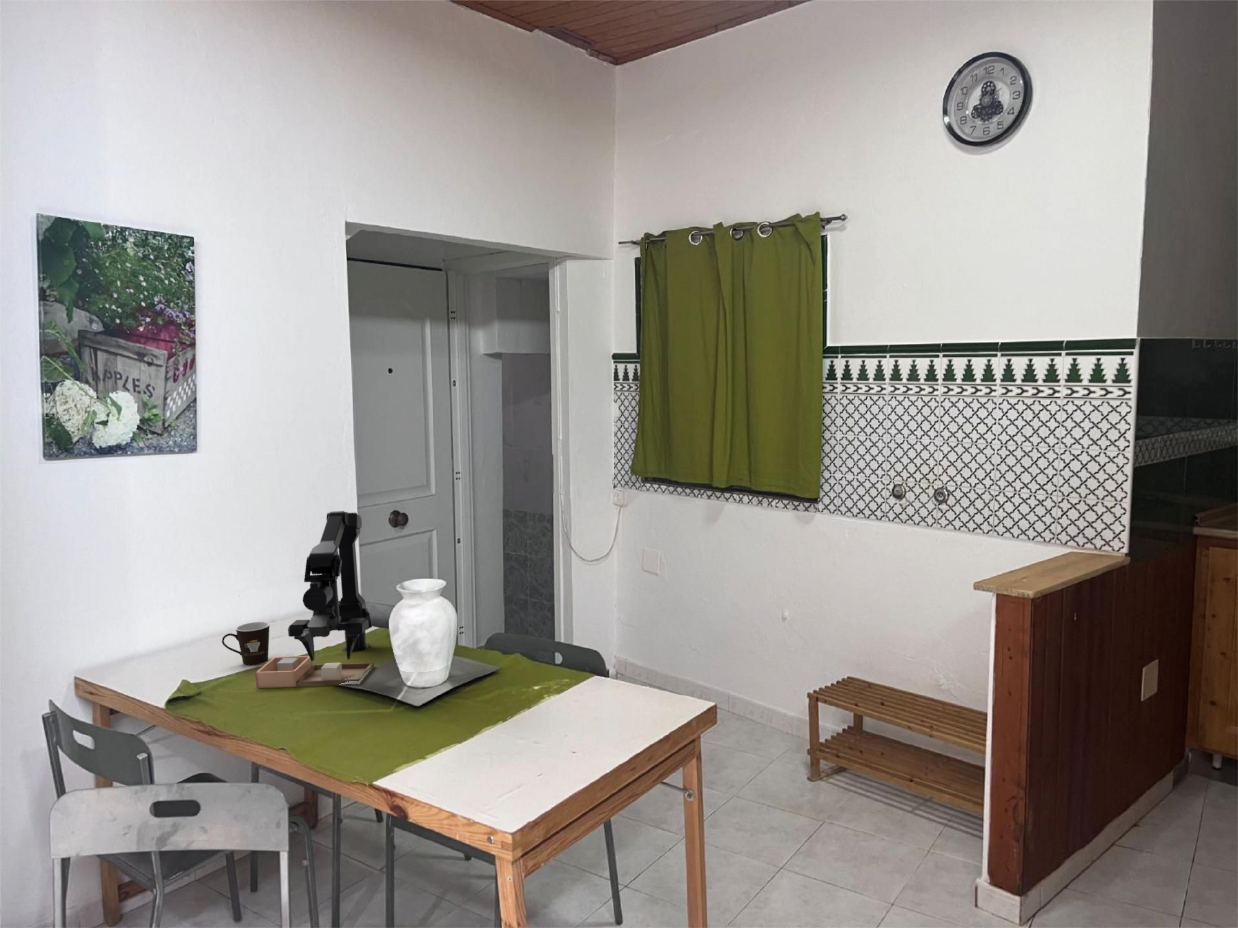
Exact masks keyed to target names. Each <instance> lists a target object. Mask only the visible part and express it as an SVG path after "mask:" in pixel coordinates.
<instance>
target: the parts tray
mask: <svg viewBox="0 0 1238 928" xmlns="http://www.w3.org/2000/svg"><path fill="white" fill-rule="evenodd" d="M325 664H326V663H318V664H317V663H315V664H312V667H311V668H310V669H308V670H307V671H306V672H305V673H304V674H303V675H302V676H301V677H300V678H299V679H298V680H297V681H296V687H300V688H301V687H326V686H329V687H330V686H331V687H333V686H334V687H335V686H340V685H339V684H341V683H345V682H347V681H348V682H349V681H359V680H360V679H361V678H362V676H364V674H365V673H366V672H367V671H368V670H370V669H372V668H373V667H375V663H374V662H352V663H351V662H349V663H342V677H343V678H342V679H341V680H322V679H321V668H322V667H323V666H324V665H325ZM373 669H374V668H373ZM373 669H372V670H373ZM362 672H363V673H362ZM360 673H362V674H361V676H360V677H359V678H358V679H348V678H351V677H353V676H355V675H356V674H360ZM345 679H346V680H345Z"/></svg>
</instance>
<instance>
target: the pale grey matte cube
mask: <svg viewBox="0 0 1238 928" xmlns="http://www.w3.org/2000/svg"><path fill="white" fill-rule="evenodd" d="M298 666H299V661H298V658H283V659H282V660H280V661H279V662H278V663H277V668H278V671H294V670H295V669H296V668H297V667H298Z"/></svg>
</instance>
